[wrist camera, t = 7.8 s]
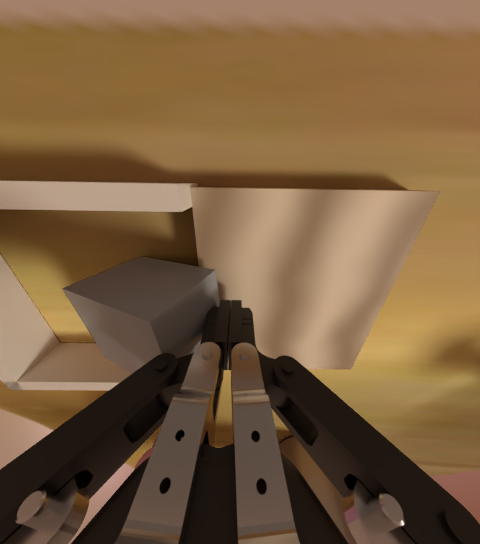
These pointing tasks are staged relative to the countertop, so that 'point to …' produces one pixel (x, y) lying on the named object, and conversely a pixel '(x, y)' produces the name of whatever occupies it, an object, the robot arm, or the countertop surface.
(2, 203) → the box
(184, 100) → the countertop surface
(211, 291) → the matte grey cube
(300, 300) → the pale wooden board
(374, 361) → the countertop surface
